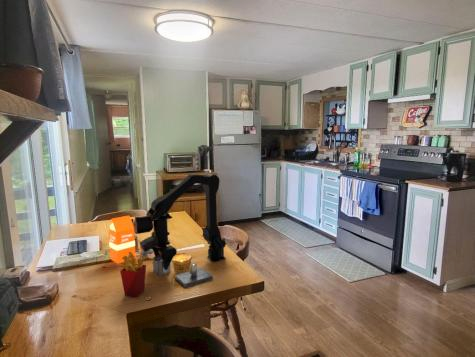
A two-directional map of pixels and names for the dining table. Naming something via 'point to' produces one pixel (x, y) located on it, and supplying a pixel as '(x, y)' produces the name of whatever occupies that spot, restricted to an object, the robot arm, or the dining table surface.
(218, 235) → the robot arm
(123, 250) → the orange juice
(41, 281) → the dining table surface
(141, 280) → the french fries
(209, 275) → the shaft block
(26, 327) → the dining table surface
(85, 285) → the dining table surface
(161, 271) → the cylinder
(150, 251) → the valve
